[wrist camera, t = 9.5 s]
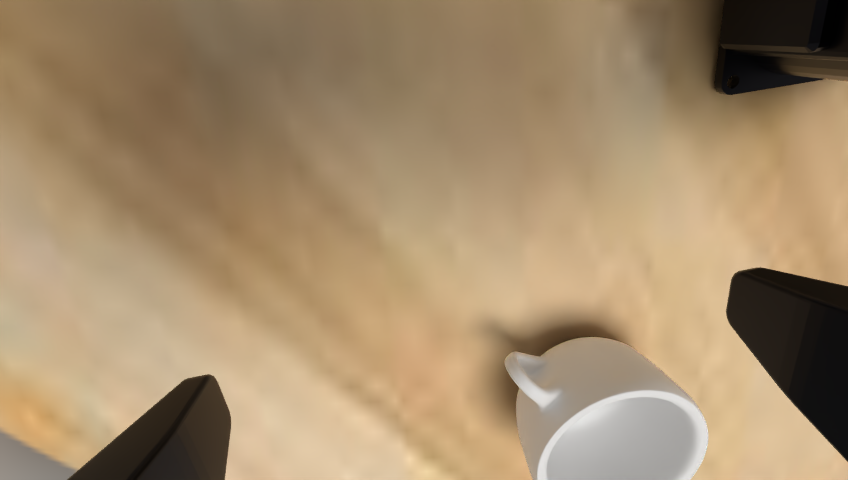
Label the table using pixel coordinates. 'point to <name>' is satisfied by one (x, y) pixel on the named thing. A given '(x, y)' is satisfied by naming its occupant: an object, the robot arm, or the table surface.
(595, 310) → the table surface
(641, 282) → the table surface
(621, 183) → the table surface
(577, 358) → the teacup
